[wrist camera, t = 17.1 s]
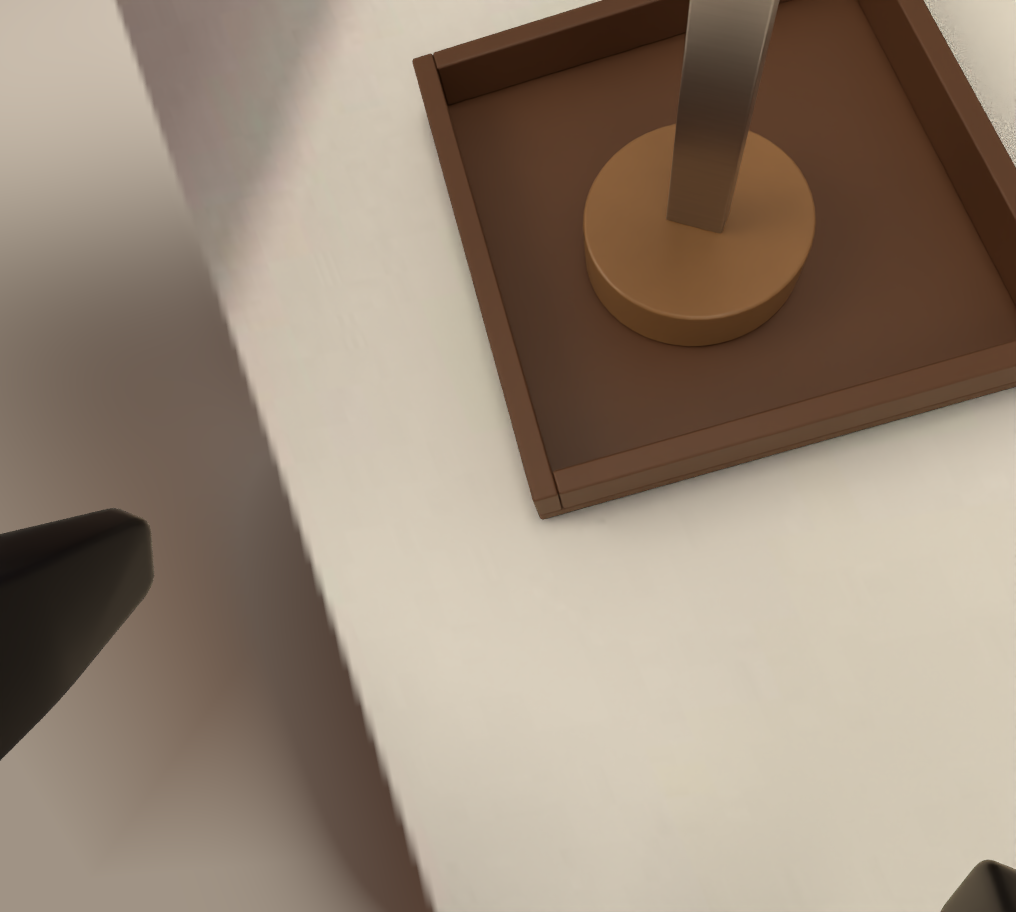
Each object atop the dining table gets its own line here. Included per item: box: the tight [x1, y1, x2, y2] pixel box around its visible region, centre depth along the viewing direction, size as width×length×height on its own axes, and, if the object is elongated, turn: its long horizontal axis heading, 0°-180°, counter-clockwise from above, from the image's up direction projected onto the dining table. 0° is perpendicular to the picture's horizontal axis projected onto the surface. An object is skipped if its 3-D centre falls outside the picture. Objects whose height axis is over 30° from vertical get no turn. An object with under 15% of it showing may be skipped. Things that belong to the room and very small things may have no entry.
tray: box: [413, 0, 1016, 519], centre depth 21 cm, size 13×13×2 cm
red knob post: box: [583, 0, 816, 346], centre depth 14 cm, size 6×6×16 cm
